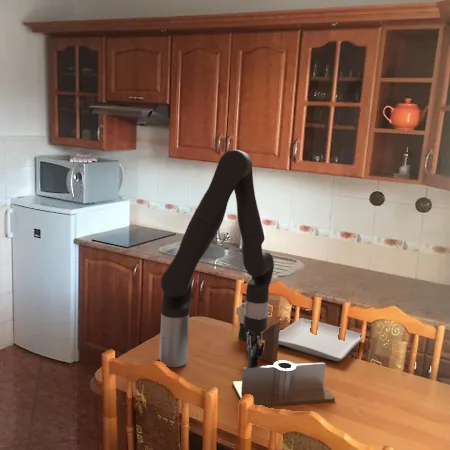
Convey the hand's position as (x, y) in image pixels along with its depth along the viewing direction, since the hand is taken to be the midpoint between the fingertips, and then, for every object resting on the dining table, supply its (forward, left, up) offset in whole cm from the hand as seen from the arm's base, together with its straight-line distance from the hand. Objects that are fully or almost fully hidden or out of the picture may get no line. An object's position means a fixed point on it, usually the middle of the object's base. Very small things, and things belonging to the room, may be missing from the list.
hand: (252, 363), depth 172 cm
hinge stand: (+6, -13, -4) cm, 15 cm away
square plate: (+32, +20, -4) cm, 38 cm away
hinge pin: (0, 0, -4) cm, 4 cm away
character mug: (+6, +28, -4) cm, 29 cm away
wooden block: (+7, +12, -4) cm, 14 cm away
